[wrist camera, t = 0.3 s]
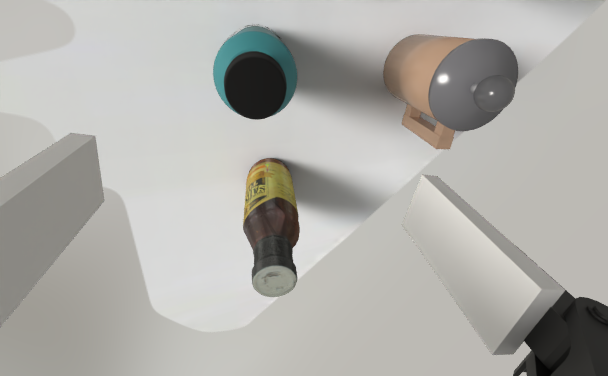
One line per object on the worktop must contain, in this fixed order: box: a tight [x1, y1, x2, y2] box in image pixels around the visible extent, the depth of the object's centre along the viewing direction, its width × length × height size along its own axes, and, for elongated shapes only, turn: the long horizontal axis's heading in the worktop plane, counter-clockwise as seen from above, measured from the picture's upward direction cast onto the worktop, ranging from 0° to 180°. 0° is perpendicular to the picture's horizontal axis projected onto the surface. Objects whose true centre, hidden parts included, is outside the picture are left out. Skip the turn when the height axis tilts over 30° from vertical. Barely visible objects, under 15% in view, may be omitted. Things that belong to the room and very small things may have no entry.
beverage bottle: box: [213, 25, 297, 119], centre depth 27 cm, size 6×7×20 cm
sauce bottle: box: [243, 158, 300, 297], centre depth 35 cm, size 7×6×20 cm
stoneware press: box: [383, 34, 518, 149], centre depth 33 cm, size 11×8×17 cm
